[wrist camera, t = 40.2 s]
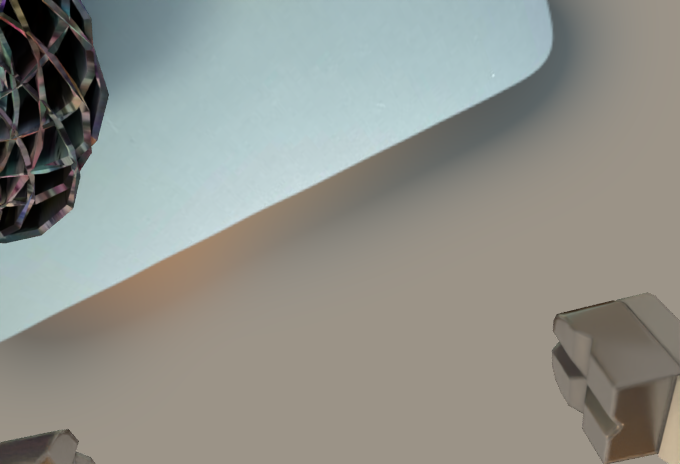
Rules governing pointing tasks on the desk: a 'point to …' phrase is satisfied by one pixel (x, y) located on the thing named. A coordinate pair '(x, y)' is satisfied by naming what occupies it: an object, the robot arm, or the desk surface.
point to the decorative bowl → (45, 111)
